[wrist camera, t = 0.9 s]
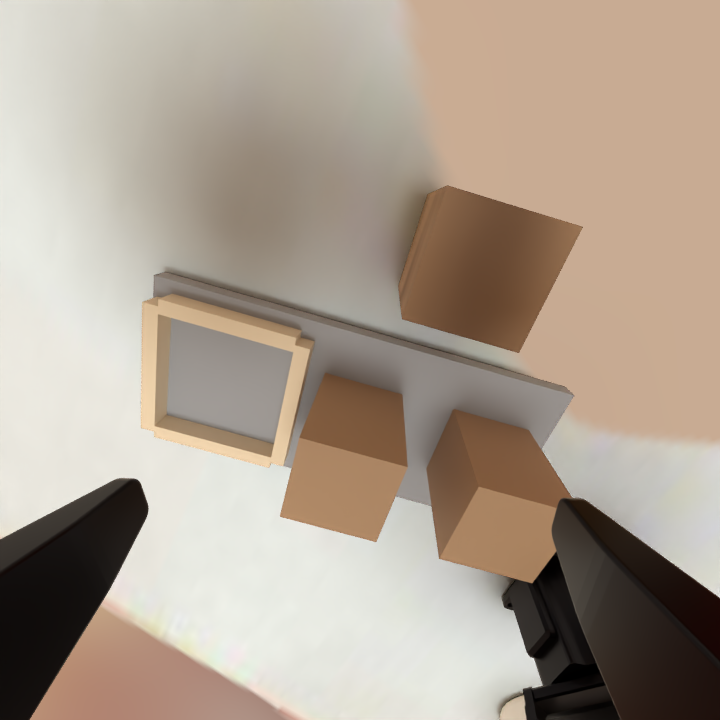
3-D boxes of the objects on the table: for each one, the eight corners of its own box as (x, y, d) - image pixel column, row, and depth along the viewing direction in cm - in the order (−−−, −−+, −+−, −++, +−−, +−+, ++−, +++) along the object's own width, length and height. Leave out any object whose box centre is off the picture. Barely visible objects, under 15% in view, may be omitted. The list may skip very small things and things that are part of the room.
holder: (565, 386, 19) (652, 472, 13) (491, 511, 23) (530, 624, 17) (165, 271, 19) (47, 303, 12) (159, 421, 23) (69, 504, 16)
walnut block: (517, 221, 16) (582, 226, 11) (479, 310, 18) (518, 352, 13) (427, 194, 16) (447, 185, 11) (398, 286, 18) (402, 319, 13)
